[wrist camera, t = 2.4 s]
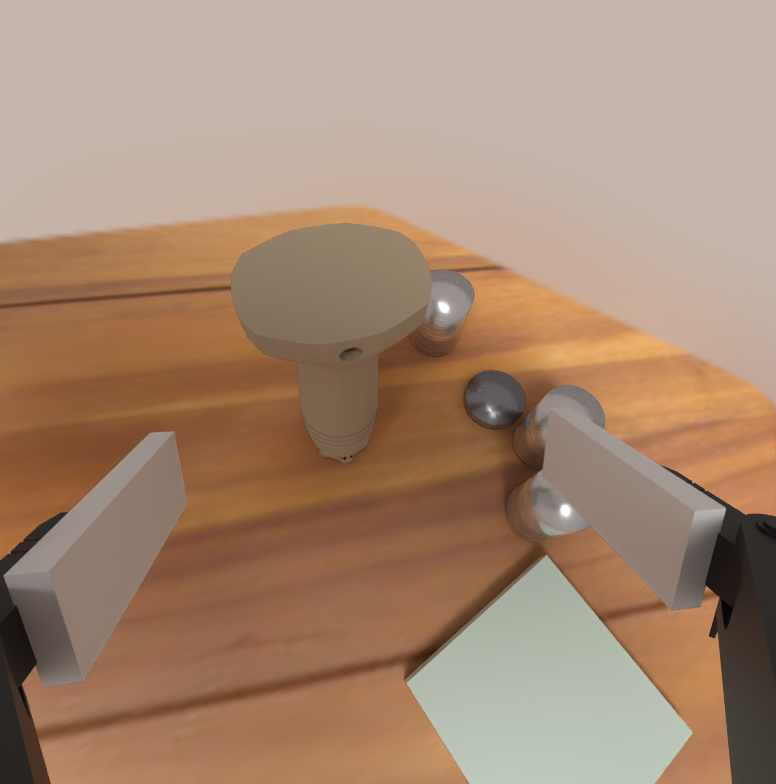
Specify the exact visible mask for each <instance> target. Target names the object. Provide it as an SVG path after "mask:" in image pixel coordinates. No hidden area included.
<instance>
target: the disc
mask: <svg viewBox="0 0 776 784" xmlns="http://www.w3.org/2000/svg"><path fill="white" fill-rule="evenodd" d="M463 401H464V407H465V409H466V412H467V413H468V415H469V416H470V418H471V419H472V420H473V421H474V422H476V423H477V424H479V425H480V426H482V427H484V428H487V429H492V430H500V429H505V428H508V427H510V426H511V425H513V424H514V423H515V422H516V421H517V419H518V418H519V417H520V416H521V415H522V413H523V412H524V409H525V406H526V397H525V393H524V391H523V389H522V387H521V385H520V384H519V383H518V382H517V381H516V380H515V379H514V378H513V377H511V376H510V375H508V374H506V373H503V372H500V371H493V370H492V371H484V372H481V373H479V374H477V375H476V376H474V377H473V378H472V379H471V381H470V382H469V384H468V386H467V388H466V390H465V393H464V398H463Z"/></svg>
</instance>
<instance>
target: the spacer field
mask: <svg viewBox="0 0 776 784" xmlns="http://www.w3.org/2000/svg"><path fill="white" fill-rule="evenodd" d="M430 274H431V280H432V290H431V296H430V300H429V303H428V307H427V311H426V314H425V317H424V319H423V322H422V324H421V325H420V326H419V327H418V328H417V329H415V330H414V331H413V332H412V333H410V340H411V343H412V344H413V346H414V347H415V348H416V349H417V350H418V351H419V352H421V353H423V354H425V355H428V356H435V357H437V356H443V355H446V354H448V353H449V352H451V351H452V350H453V348H454V347H455V345H456V342H457V340H458V337H459V335H460V332H461V330H462V328H463V325H464V323H465V320H466V318H467V315H468V313H469V310H470V308H471V305H472V303H473V300H474V289H473V287H472V285H471V283H470V282H469V281H468V280H467V279H466V278H465V277H464V276H462V275H461V274H459V273H456V272H454V271H449V270H438V271H434V272H431V273H430ZM562 407H570V408H571V409H573V410H574V411H576V412H578V413H579V414H581V415H582V416H584V417H585V418H587V419H588V420H590V421H592V422H593V423H595V424H596V425H598V426H599V427H601V428H602V429H604V426H605V415H604V412H603V409H602V407H601V405H600V403H599V402H598V401H597V399H596V398H595V397H594V396H593V395H591V394H590V393H589V392H587V391H586V390H584V389H582V388H579V387H577V386H572V385H562V386H558V387H555V388H553V389H552V390H550V391H549V392H548V393H547V394H546V396H545V397H544V398H543V399H542V400H541V401H540V402H539V403H538V404H537V405H536V406H535V408H534V409H533V410H532V411H531V412H530V413H529V414H528V415H527V416H526V417H525V418H524V419H523V421H522V422H521V423H520V424H519V425H518V426H517V427H516V429H515V430H514V433H513V437H512V443H513V447H514V450H515V452H516V454H517V455H518V457H519V458H520V459H521V460H522V461H523V462H524V463H525V464H527V465H528V466H530V467H533V468H535V469H540V470H541V471H539V472H538V473H536V474H535V475H534V476H532V477H531V478H529V479H528V480H527V481H525V482H524V483H523V484H521V485H520V486H518V487H517V488H516V489H514V490H513V491H512V492H511V493H510V495H509V496H508V498H507V501H506V506H505V512H506V517H507V520H508V523H509V525H510V527H511V528H512V529H513V531H514V532H515V533H516V534H517V535H518V536H519V537H521V538H522V539H524V540H526V541H529V542H532V543H545V542H548V541H551V540H554V539H557V538H560V537H563V536H566V535H569V534H572V533H575V532H578V531H581V530H584V529H587V528H589V527H591V526H590V525H589V524H588V523H587V522H586V521H585V520H584V518H583V517H582V516H581V515H580V514H579V513H578V512H577V511H576V510H575V509H574V508H573V507H572V506H571V505H570V504H569V503H568V502H567V501H566V500H565V499H564V497H563V496H562V495H561V494H560V493H559V492H558V491H557V490H556V489H555V488H554V487H553V486H552V485H551V484H550V483H549V482H548V481H547V480H546V479H545V478H544V476H543V475H542V473H543V464H544V454H545V445H546V436H547V426H548V417H549V408H562Z"/></svg>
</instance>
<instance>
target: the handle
mask: <svg viewBox="0 0 776 784" xmlns="http://www.w3.org/2000/svg"><path fill="white" fill-rule="evenodd" d="M431 290H432V280H431V274H430V270H429V267H428V264H427V262H426V260H425V258H424V256H423V254H422V253H421V251H420V250H419V249H418V247H417V246H416V245H415V244H414V243H413V242H412V241H411V240H410V239H408V238H407V237H406V236H404V235H403V234H401V233H400V232H398V231H393V230H388V229H383V228H378V227H372V226H366V225H361V224H350V223H342V224H330V225H322V226H315V227H307V228H301V229H297V230H292V231H288V232H286V233H283V234H281V235H278V236H276V237H274V238H272V239H270V240H268V241H266V242H264V243H262V244H260V245H258V246H256V247H254V248H252V249H250V250H249V251H247V252H245V253H243V254H242V255H241V257H240V258H239V260H238V261H237V263H236V265H235V267H234V269H233V272H232V278H231V295H232V299H233V303H234V307H235V310H236V312H237V315H238V318H239V320H240V322H241V325H242V327H243V329H244V331H245V333H246V335H247V337H248V338H249V339H250V341H251V342H252V343H253V344H254V345H255V346H256V347H257V348H258V349H259V350H260V351H261V352H263V353H264V354H265V355H269V356H272V357H276V358H280V359H284V360H288V361H293V362H296V363H297V371H298V382H299V393H300V404H301V411H302V415H303V419H304V422H305V426H306V428H307V430H308V432H309V434H310V436H311V438H312V440H313V441H314V443H315V444H316V445H317V450H318V452H319V453H320V454H321V455H322V456H323V457H324V458H326V457H331V458H335V459H337V460H339V461H341V463H349V462H351V461H352V460H353V458H354V456H355V454H356V453H357V452H359V451H360V450H361V449H364V448H365V447H366V446H367V444H368V441H369V438H370V435H371V433H372V431H373V428H374V425H375V421H376V417H377V410H378V355H379V354H380V353H382V352H383V351H385V350H387V349H389V348H390V347H392V346H393V345H395V344H396V343H398V342H399V341H401V340H402V339H404V338H405V337H406V336H408V335H409V334H410V333H412V332H413V331H414V330H415V329H417V328H418V327H419V326H420V325H421V324H422V322H423V319H424V317H425V314H426V311H427V307H428V303H429V300H430V296H431Z"/></svg>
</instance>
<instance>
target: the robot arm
mask: <svg viewBox="0 0 776 784" xmlns="http://www.w3.org/2000/svg"><path fill="white" fill-rule="evenodd" d="M542 475H543V476H544V478H545V479H546V480H547V481H548V482H549V483H550V484H551V485H552V486H553V487H554V488H555V489H556V490H557V491H558V492H559V493H560V494H561V495H562V496H563V497H564V499H565V500H566V501H567V502H568V503H569V504H570V505H571V506H572V507H573V508H574V509H575V510H576V511H577V512H578V513H579V514H580V515H581V516H582V517H583V518H584V520H585V521H586V522H587V523H588V524H589V525H590V526H591V527H592V528H593V529H594V530H595V531H596V532H597V533H598V534H599V535H600V536H601V537H602V538H603V539H604V540H605V542H606V543H607V544H608V545H609V546H610V547H611V548H612V549H613V550H614V551H615V552H616V553H617V554H618V555H619V556H620V557H621V558H622V559H623V560H624V561H625V563H626V564H627V565H628V566H629V567H630V568H631V569H632V570H633V571H634V572H635V573H636V574H637V575H638V576H639V577H640V578H641V579H642V580H643V581H644V582H645V584H646V585H647V586H648V587H649V588H650V589H651V590H652V591H653V592H654V593H655V594H656V595H657V596H658V597H659V598H660V599H661V600H662V601H663V602H664V603H665V605H666V606H667V607H668V608H669V609H670V610H671V611H672V610H680V609H688V608H697V607H700V606H701V603H702V599H703V595H704V591H705V588H706V586H707V587H708V588H710V589H711V590H712V591H713V592H714V593H715V594H716V595H717V596H719V597H720V598H719V602H718V605H717V609H716V612H715V616H714V620H713V623H712V627H711V630H710V634H709V636H710V637H712V638H715V636H716V634H717V632H718V639H719V649H720V660H721V670H722V681H723V692H724V702H725V713H726V723H727V734H728V745H729V755H730V766H731V776H732V784H776V517H775V516H771V515H765V514H747V515H745V514H743V513H742V512H740V511H739V510H737V509H735V508H734V507H732V506H731V505H729V504H727V503H726V502H724V501H723V500H721V499H719V498H718V497H716V496H715V495H713V494H712V493H710V492H708V491H705V489H704V488H702V487H700V486H699V485H697V484H696V483H692V481H691V480H689V479H688V478H686V477H685V476H683V475H681V474H680V473H678V472H676V471H674V470H671V469H669V468H666V467H664V466H661V465H659V464H657V463H655V462H654V461H652V460H651V459H649V458H648V457H646V456H645V455H643V454H641V453H640V452H638V451H637V450H635V449H634V448H632V447H631V446H629V445H627V444H626V443H624V442H623V441H621V440H620V439H618V438H616V437H615V436H613V435H612V434H610V433H609V432H607V431H606V430H604V429H602V428H601V427H599V426H598V425H596V424H595V423H593V422H592V421H590V420H588V419H587V418H585V417H584V416H582V415H581V414H579V413H578V412H576V411H574V410H573V409H571V408H570V407H562V408H549V417H548V426H547V436H546V445H545V454H544V464H543V473H542ZM187 504H188V501H187V496H186V491H185V485H184V480H183V475H182V469H181V464H180V458H179V453H178V448H177V442H176V437H175V432H174V431H171V432H154V433H149V434H148V435H147V436H146V437H145V438H144V439H143V440H142V441H141V442H140V443H139V444H138V445H137V446H136V447H135V448H134V449H133V450H132V451H131V452H130V453H129V454H128V455H127V456H126V457H125V458H124V459H123V460H122V461H121V462H120V463H119V464H118V465H117V466H116V467H114V468H113V469H112V470H111V471H110V472H109V473H108V474H107V475H106V476H105V477H104V478H103V479H102V480H101V481H100V482H99V483H98V484H97V485H96V486H95V487H94V488H93V489H92V490H91V491H90V492H89V493H88V494H87V495H86V496H85V497H84V498H83V499H82V500H81V501H80V502H79V503H78V504H77V505H75V506H74V507H73V508H72V509H71V510H70V511H69V512H65V513H59V514H58V515H56V516H54V517H53V518H51V519H49V520H47V521H46V522H44V523H42V524H41V525H39V526H38V527H37V528H36V529H35V530H34V531H32V532H31V533H30V534H29V535H28V536H27V537H26V538H25V539H24V542H21V543H19V544H18V545H17V546H16V547H15V548H14V549H13V550H12V551H11V554H7V555H6V556H5V557H4V558H3V559H2V560H1V561H0V784H51V783H50V780H49V776H48V772H47V769H46V765H45V762H44V758H43V754H42V751H41V747H40V744H39V740H38V737H37V733H36V729H35V726H34V722H33V719H32V715H31V711H30V708H29V704H28V701H27V697H26V694H25V692H24V689H23V686H22V683H23V682H24V680H25V679H26V677H27V676H28V675H29V673H30V672H31V671H32V669H33V668H34V666H35V665H36V667H37V670H38V673H39V676H40V678H41V681H42V684H43V687H46V686H54V685H63V684H71V683H79V682H84V681H85V679H86V678H87V676H88V674H89V672H90V671H91V669H92V667H93V665H94V664H95V662H96V660H97V659H98V657H99V655H100V653H101V652H102V650H103V648H104V647H105V645H106V643H107V641H108V640H109V638H110V636H111V635H112V633H113V631H114V629H115V628H116V626H117V624H118V623H119V621H120V619H121V617H122V616H123V614H124V612H125V611H126V609H127V607H128V605H129V604H130V602H131V600H132V599H133V597H134V595H135V593H136V592H137V590H138V588H139V587H140V585H141V583H142V581H143V580H144V578H145V576H146V574H147V573H148V571H149V569H150V568H151V566H152V564H153V562H154V561H155V559H156V557H157V556H158V554H159V552H160V550H161V549H162V547H163V545H164V544H165V542H166V540H167V538H168V537H169V535H170V533H171V532H172V530H173V528H174V526H175V525H176V523H177V521H178V520H179V518H180V516H181V514H182V513H183V511H184V509H185V508H186V506H187Z"/></svg>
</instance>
